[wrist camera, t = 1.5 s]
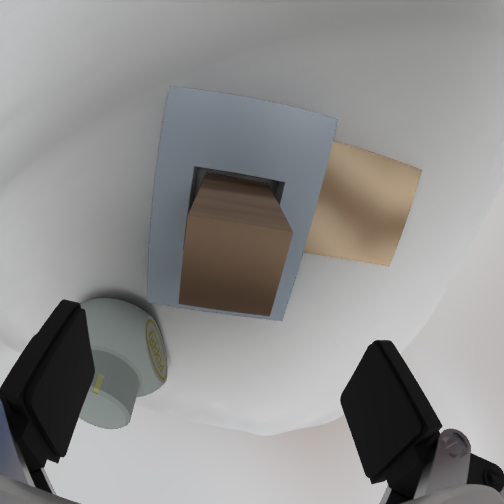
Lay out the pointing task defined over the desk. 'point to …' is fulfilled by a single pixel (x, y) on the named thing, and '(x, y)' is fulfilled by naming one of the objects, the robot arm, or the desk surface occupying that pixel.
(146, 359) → the air freshener
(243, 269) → the walnut block
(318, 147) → the holder
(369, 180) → the cork mat
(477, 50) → the desk surface
